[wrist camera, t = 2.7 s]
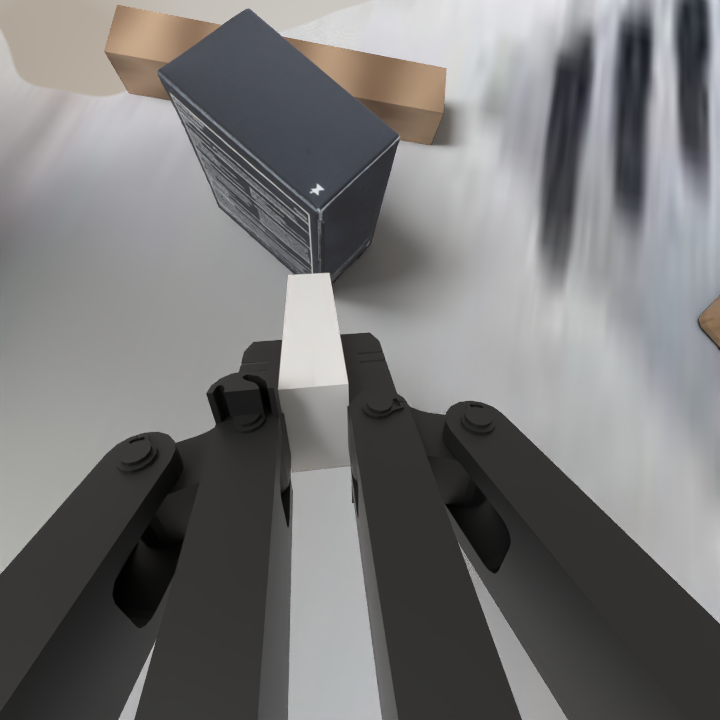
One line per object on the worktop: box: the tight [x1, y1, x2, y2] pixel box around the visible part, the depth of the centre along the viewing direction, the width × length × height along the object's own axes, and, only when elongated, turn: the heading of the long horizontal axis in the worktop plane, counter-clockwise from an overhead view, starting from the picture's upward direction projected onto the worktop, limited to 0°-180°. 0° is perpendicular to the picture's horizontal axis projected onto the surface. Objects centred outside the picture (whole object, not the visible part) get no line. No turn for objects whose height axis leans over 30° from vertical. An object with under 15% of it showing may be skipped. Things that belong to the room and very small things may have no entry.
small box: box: [157, 9, 400, 284], centre depth 22 cm, size 11×6×10 cm, turn 49°
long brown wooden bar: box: [105, 5, 446, 145], centre depth 27 cm, size 24×4×4 cm, turn 84°
